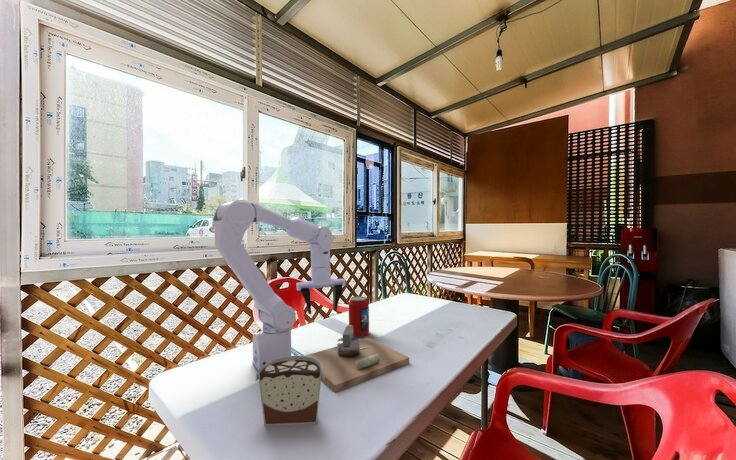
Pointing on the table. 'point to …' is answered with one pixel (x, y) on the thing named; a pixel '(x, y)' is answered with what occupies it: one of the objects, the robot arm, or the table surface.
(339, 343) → the wing knob
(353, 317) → the beverage can
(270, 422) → the food container
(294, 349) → the adjustable wrench
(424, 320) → the table surface
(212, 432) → the table surface
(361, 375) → the base
